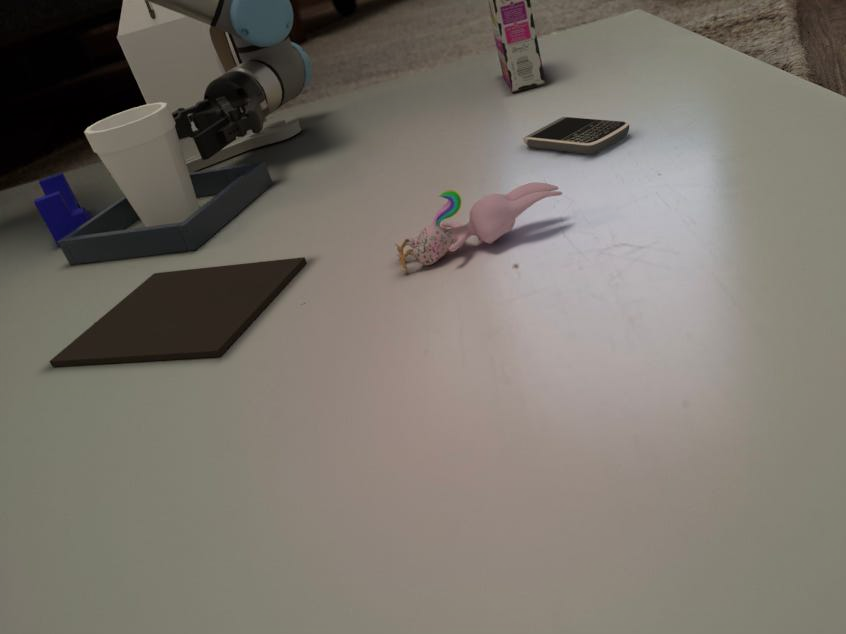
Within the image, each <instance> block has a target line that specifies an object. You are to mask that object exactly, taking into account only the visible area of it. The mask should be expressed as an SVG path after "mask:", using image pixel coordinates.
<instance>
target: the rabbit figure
mask: <svg viewBox="0 0 846 634" xmlns="http://www.w3.org/2000/svg"><path fill="white" fill-rule="evenodd" d="M557 190H559V186H557V185H555V184H552V183H548V182H547V183H546V182H540V181H539V182H538V181H537V182H536V181H535V182H534V181H533V182H529V183H526V184H523V185H520V186H517V187H516V188H513V189H512V190H511V191H509V192H508V193H506V194H505V193H504V194H501V193H490V194H487V195H485V196H483V197H481V198H480V199H478V200H477V201H476V202H474V204H473V205H472V206H471V208H470V211H469V221H468V222H467V223H466V224H461V223H458V222H454V221H443V220H446V219H449V218H451V217H453V216H455V215H456V214H457V213H458V212H459V211H460V209H461V206H462V198H461V196H460V194H459V193H458V192H457V191H456V190H451V189H450V190H445V191H443V192H442V193H441V194H440V195H438V198H442V199H443V198H444V199H446V200H447V202H446V203H445V204H444V205H441V207H440V208H439V209H438V210H437V212H436V213H435V215H434V218H433V220H432V222H431V224H429V225H427V226H425V227H424V228H422V229H421V230H420V232H419V234H418V236H416V237H413V238H410V237H406V238H404V240H403V242H402V243H401V245H398V244H397V243H394V245H395V246H396V247H397V249H396V250H397V252H398V254H396V256H397V257H399V258H398V261H399V263H400V266H401V267H402V268H403V272H405V274H407V273H408V271H409V270H408V269H409V268H408V266H407V265H406V259H407V258H408V256H411V257H413V258H414V259H415V260H416V261H417V262H418V263H420V264H421V265H422V266H433V265H434V264H436V263H437V262H438V261H439V260H441V258H443V257H444V256H445V255H446V254H447V253H448V252H449V251H450V252H451V253H452V252H455V251H456V250H458V248H461V247H462V246H463V245H464V244H465V243H466V241H467V240H468V239H469V238H470V237H472V236H475V237H477V240H478V241H479V242H485V243H487V244H488V245H492V244H493V243H494V242H495V241H498V240H499V238H500V237H501V236H503V235H506V234H507V233H509V232H510V231H512V230H513V228H514V226H515V223H516V219H517V218H518V217H519V216H521V214H523V213H524V212H525V211H526V210H527V209H530V207H532V206H533V205H534V204H536V203H537V202H539V201H542V200H543V199H545V198H549V197H557V196H561V195H563V192H562V191H560V190H559V191H557ZM441 222H442V223H441ZM406 246H409V247H410V248H407V250H406V251H405V253H404V248H405V247H406Z"/></svg>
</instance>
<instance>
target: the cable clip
mask: <svg viewBox="0 0 846 634" xmlns="http://www.w3.org/2000/svg"><path fill="white" fill-rule="evenodd" d="M38 184H39V185H40V187H41V189H42V192H43V193H44V196H41V197H38V198H35V199H34V200H33V203H34V205H35V207H36V209H37V211H38V213H39V214H40V216H41V218H42V220H43V222H44V224H45V225H46V227H47V229H48V231H49V233H50V234H51V236H52V238H53V239H54V241H55V243H56V245H57V247H58V248H60V246H59V244H58V241H59V240H61V239H62V238H64V237H65V236H66V235H68V234H69V233H71V232H72V231H74V230H75V229H77V228H78V227H80V226H81V225H83V224H84V223H86V222H87V221H88V220H90V219H91V218H93V217H94V216H93V214H92V213H91V211H90V210H87V209H86V208H85V206H81V205H80V203H79V200H78V199H77V197H76V195H75V193H74V191H73V190H72V188H71V186H70V184H69V182H68V180H67V178H66V176H65V174H64V172H63V171H61V172H57V173H56V174H53V175H50V176H47V177H43V178H41V179H39V180H38Z"/></svg>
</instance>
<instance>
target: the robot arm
mask: <svg viewBox="0 0 846 634" xmlns="http://www.w3.org/2000/svg"><path fill="white" fill-rule="evenodd" d="M146 1H149V2H152V3H154V4H157V5H159V6H162V7H164V8H167V9H170V10H172V11H175V12H177V13H180V14H182V15H185V16H187V17H190V18H193V19H195V20H198V21H200V22H203V23H205V24H208V25H210V26H213V27H215V28H217V29H220V30H222V31H225V32H227V33H228V34H230V35H231V37H232V39H233V42H234V44H235V47H236V48H235V49H236V51H237V53H238V56H239V59H240V61H241V63H239V64H240V65H238V66H236V67H235V68H233V69H231V70H229V71H228V72H226V73H225V74H223V75H222V76H220V77H218V78H217V79H215V80H213V81H212V82H211V83H210V84H209V85H208V86H207V88H206V90H205V94H204V100H203V101H200V102H198V103H196V105H195V106H193V107H190V108H187V109H185V108H179V109H178V110H176V111H175V112H173V113H172V116H173V118H174V120H175V123H176V124H175V128H176V132H177V135H178V138H179V140H180V139H183V138H185V137H188V138H190V139H192V140H193V141H194V143H195V146H196V148H197V150H198V153H199V155H201V157H202V160H207V159H209V158H210V157H212V156H213V155H215V154H216V153H217V152H219V151H220V150H222V149H223V148H224V147H226V146H227V145H229V144H230V143H231V142H234V141H236V140H237V138H244V137H246V136H248V132H249V131H251V133H259V132H261V131H262V129H263V127H264V123H265V122H267V121H268V119H267V117H268V116H270V115H271V114H273V113H274V112H275V111H277V110H278V109H280V108H282V107H283V106H284V105H286V104H287V103H289V102H290V101H292V100H295V99H296V98H297V97H298V96H299V95H300V94H301V93H302V92H303V91H304V90H305V89H306V88H307V87H308V85H309V84H310V83H311V80H312V77H313V65H312V61H311V59H310V56H309V55H308V53H307V52H306V51H305V50H304V49H303V48H302V47H301V46H300V45H299V44H297V43H296V42H293V41H291V38H290V36H289V34H290V33H291V30H292V28H293V24H294V10H293V6H292V3H291V1H290V0H146ZM191 122H194V124H195V127H196V128H197V129H198V130H196V131H193V130H192V128H191V126H192V125H191ZM108 173H109V175H110V176H112V175H111V174H110V172H109V171H108Z"/></svg>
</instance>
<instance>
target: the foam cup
mask: <svg viewBox="0 0 846 634" xmlns="http://www.w3.org/2000/svg"><path fill="white" fill-rule="evenodd" d="M175 124H176V123H175V120H174V118H173V116H172V113H171V111H170V109H169V107H168V104H167V103H163V102H158V103H152V104H147V103H146V104H143V105H139V106H137V107H136V106H135V107H132V108H129V109H125V110H123V111H121V112H118V113H115V114H112V115H110V116H107V117H105V118H102V119H101V120H98V121H96V122H95V123H92V124H91V125H90V126H89V125H88V126H87V128H86V129H85V130H84V131H83V133H84V136H85V138H86V139H87V142H88V143H89V145H90V147H91V149H92V152H93V153H95V154H96V155H97V156H98V157H99V159H100V160H101V162H102V163H103V165H104V166H105V168H106V169H107V171H108V173H109V172H110V173H109V175H110V174H111V175H110V176H111V177H112V179H113V180H114V182H115V183H116V185H117V187H119V189H120V190H121V192H122V193H123V196H126V198H127V199H128V201H129V203H130V204H131V206H132V207H133V209H134V210H135V212H136V213H137V215H138V216H139V218H138V219H140V220H141V222H142V224H143V225H144V227H149V226H157V225H165V224H172V223H180V222H183V221H184V220H186V219H187V218H188V217H189V216H191V215H192V214H193V213H194V212H196V211H197V210H198V209H199V208H200V205H199V202H198V199H197V198H198V197H196V195H195V192H194V188H193V185H192V182H191V178H190V175H189V172H188V168H187V165H186V162H185V160H186V159H185V156H184V152H183V148H182V145H181V142H180V139H179V138H178V135H177V132H176V128H175Z"/></svg>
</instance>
